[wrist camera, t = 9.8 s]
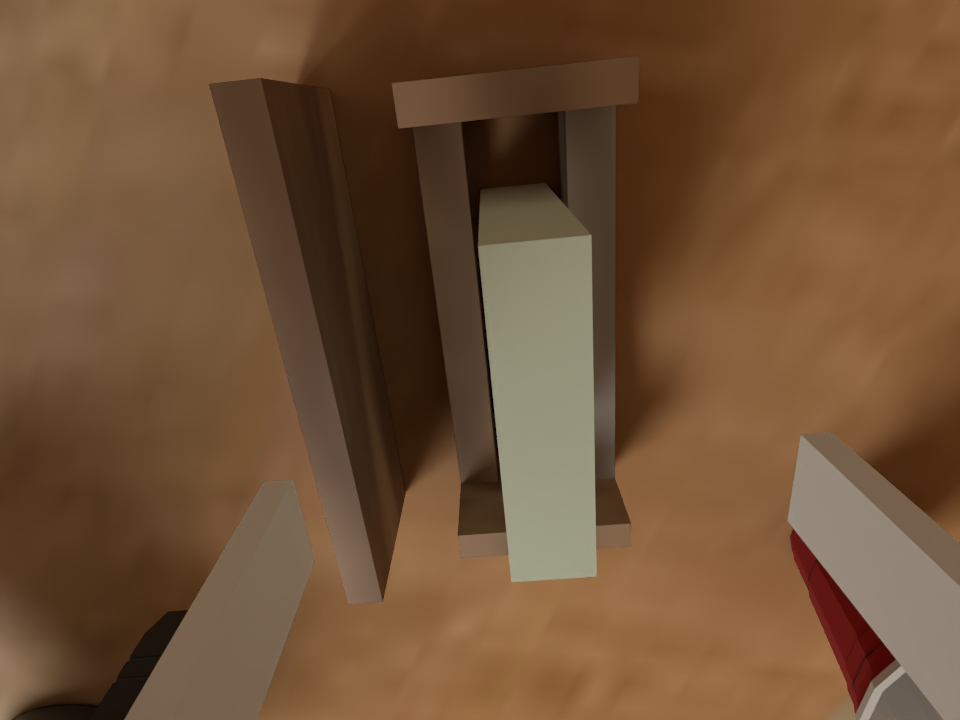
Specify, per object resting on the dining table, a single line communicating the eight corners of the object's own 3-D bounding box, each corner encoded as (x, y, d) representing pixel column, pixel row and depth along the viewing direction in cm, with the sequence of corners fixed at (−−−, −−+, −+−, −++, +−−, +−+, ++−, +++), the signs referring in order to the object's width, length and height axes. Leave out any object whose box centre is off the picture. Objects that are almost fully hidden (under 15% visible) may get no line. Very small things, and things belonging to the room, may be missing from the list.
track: (379, 494, 33) (348, 604, 25) (293, 93, 24) (208, 83, 17) (605, 477, 32) (641, 585, 25) (603, 58, 23) (657, 33, 16)
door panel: (501, 413, 30) (511, 582, 19) (480, 189, 26) (477, 245, 15) (555, 409, 30) (596, 576, 19) (545, 182, 25) (591, 235, 14)
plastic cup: (854, 422, 30) (1062, 595, 19) (965, 518, 33) (1204, 718, 22) (707, 541, 34) (813, 745, 23) (818, 619, 37) (961, 835, 26)
